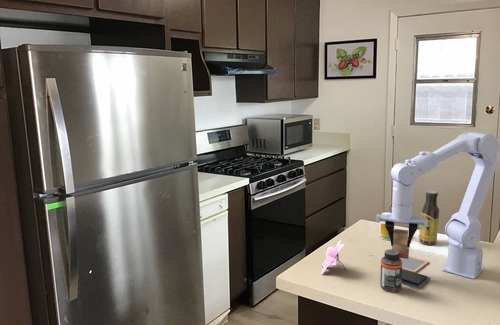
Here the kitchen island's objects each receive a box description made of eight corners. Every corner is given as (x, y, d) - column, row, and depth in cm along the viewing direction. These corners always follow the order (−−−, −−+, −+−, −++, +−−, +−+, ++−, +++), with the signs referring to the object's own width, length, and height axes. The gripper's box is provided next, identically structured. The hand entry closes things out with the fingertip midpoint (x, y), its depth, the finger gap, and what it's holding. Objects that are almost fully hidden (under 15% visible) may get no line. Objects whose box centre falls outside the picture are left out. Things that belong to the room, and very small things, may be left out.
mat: (428, 262, 144) (429, 261, 144) (414, 273, 137) (414, 272, 136) (397, 254, 152) (397, 252, 152) (382, 264, 144) (382, 262, 144)
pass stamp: (408, 252, 135) (409, 229, 134) (408, 258, 131) (409, 235, 129) (392, 250, 137) (392, 228, 136) (390, 256, 133) (391, 233, 131)
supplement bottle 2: (384, 281, 132) (386, 246, 130) (404, 287, 128) (406, 250, 126) (376, 288, 127) (377, 252, 125) (396, 294, 123) (398, 257, 121)
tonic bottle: (415, 241, 164) (417, 190, 160) (428, 239, 166) (431, 188, 162) (426, 247, 158) (429, 194, 154) (441, 245, 160) (444, 192, 156)
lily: (331, 262, 149) (317, 240, 147) (362, 256, 142) (348, 233, 140) (320, 286, 140) (306, 263, 137) (353, 281, 133) (339, 256, 131)
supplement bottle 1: (395, 240, 165) (396, 215, 163) (381, 240, 165) (382, 216, 164) (391, 235, 170) (392, 211, 169) (377, 235, 171) (378, 211, 169)
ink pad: (430, 280, 132) (430, 276, 131) (419, 289, 126) (419, 285, 126) (399, 271, 139) (399, 266, 138) (387, 279, 133) (387, 275, 133)
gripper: (428, 201, 132) (425, 243, 134) (378, 197, 137) (377, 238, 140) (428, 207, 126) (425, 252, 128) (376, 203, 131) (375, 246, 133)
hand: (400, 245), depth 133 cm, fingers closed on pass stamp, 4 cm apart
